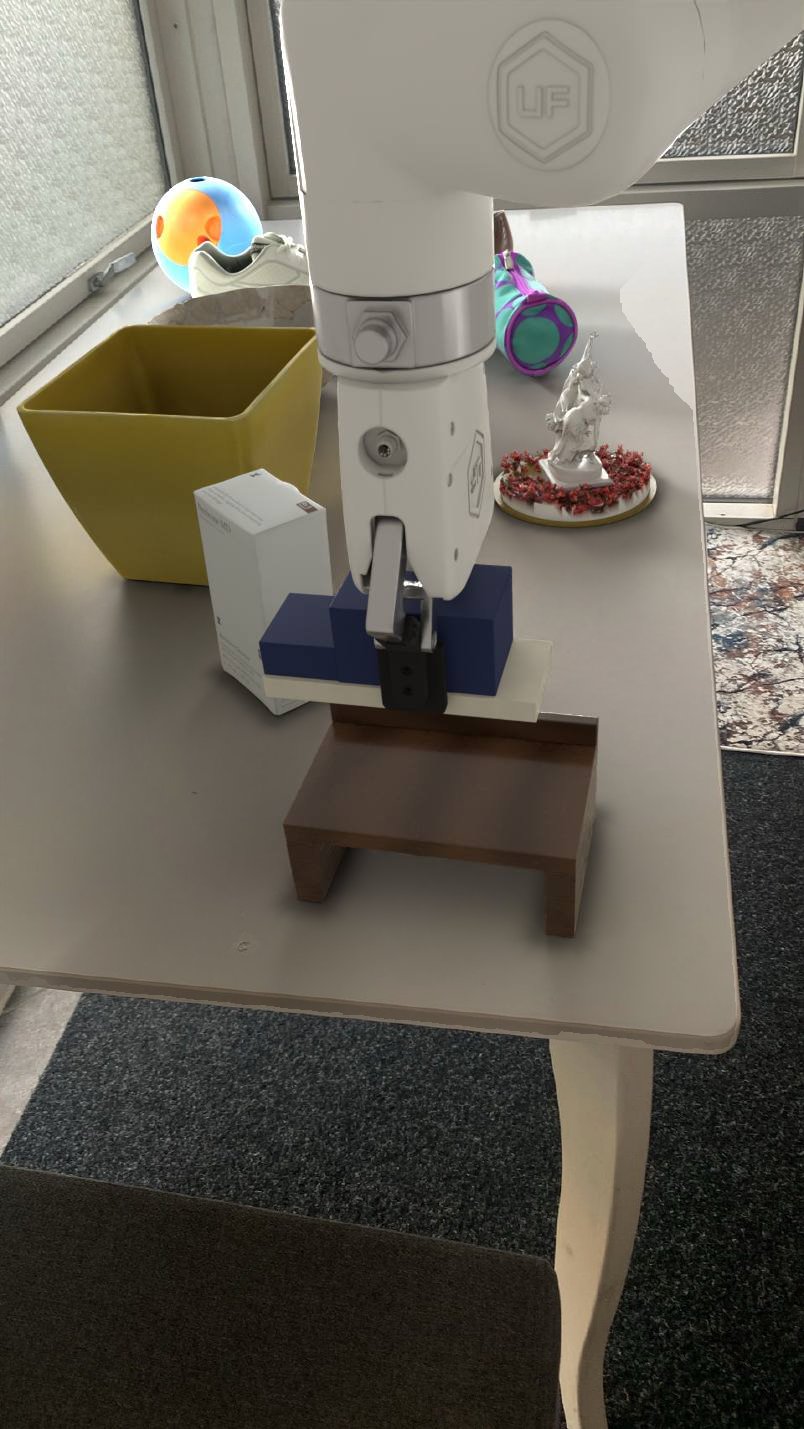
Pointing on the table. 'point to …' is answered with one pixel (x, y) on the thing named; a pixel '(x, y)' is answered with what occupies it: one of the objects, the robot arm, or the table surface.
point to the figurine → (576, 465)
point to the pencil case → (530, 318)
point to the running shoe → (248, 266)
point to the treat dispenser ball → (201, 224)
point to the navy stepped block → (473, 625)
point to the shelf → (451, 797)
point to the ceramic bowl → (247, 310)
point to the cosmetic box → (259, 565)
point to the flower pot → (173, 433)
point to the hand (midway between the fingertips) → (429, 669)
